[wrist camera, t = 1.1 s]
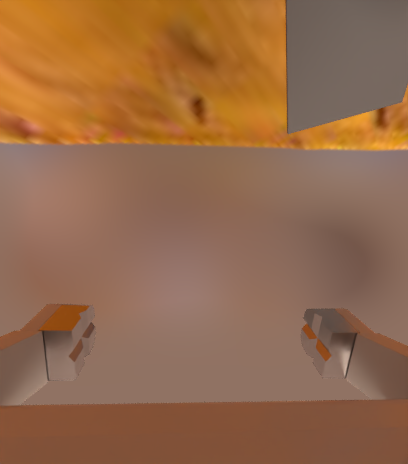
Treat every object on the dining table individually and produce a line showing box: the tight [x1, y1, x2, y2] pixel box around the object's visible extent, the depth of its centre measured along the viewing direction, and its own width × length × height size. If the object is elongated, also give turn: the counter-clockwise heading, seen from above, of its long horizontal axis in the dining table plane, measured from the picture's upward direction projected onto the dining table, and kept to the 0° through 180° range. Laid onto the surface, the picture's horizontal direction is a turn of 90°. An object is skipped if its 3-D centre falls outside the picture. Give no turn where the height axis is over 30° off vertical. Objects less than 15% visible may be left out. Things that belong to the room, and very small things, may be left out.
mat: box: [286, 0, 408, 134], centre depth 45 cm, size 24×24×1 cm
